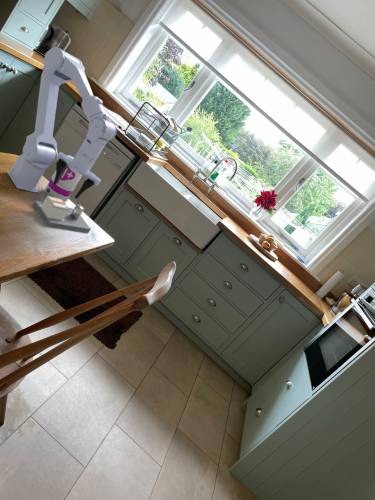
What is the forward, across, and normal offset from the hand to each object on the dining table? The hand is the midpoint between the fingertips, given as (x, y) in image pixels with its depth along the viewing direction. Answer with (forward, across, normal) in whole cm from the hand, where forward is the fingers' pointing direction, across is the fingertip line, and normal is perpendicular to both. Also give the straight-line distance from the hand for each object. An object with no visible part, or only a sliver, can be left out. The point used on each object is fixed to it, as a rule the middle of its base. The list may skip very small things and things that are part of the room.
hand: (66, 190), depth 120 cm
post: (+8, +6, +4) cm, 11 cm away
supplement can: (+10, -4, +14) cm, 17 cm away
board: (+10, +3, +1) cm, 10 cm away
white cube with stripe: (+8, 0, -2) cm, 8 cm away
